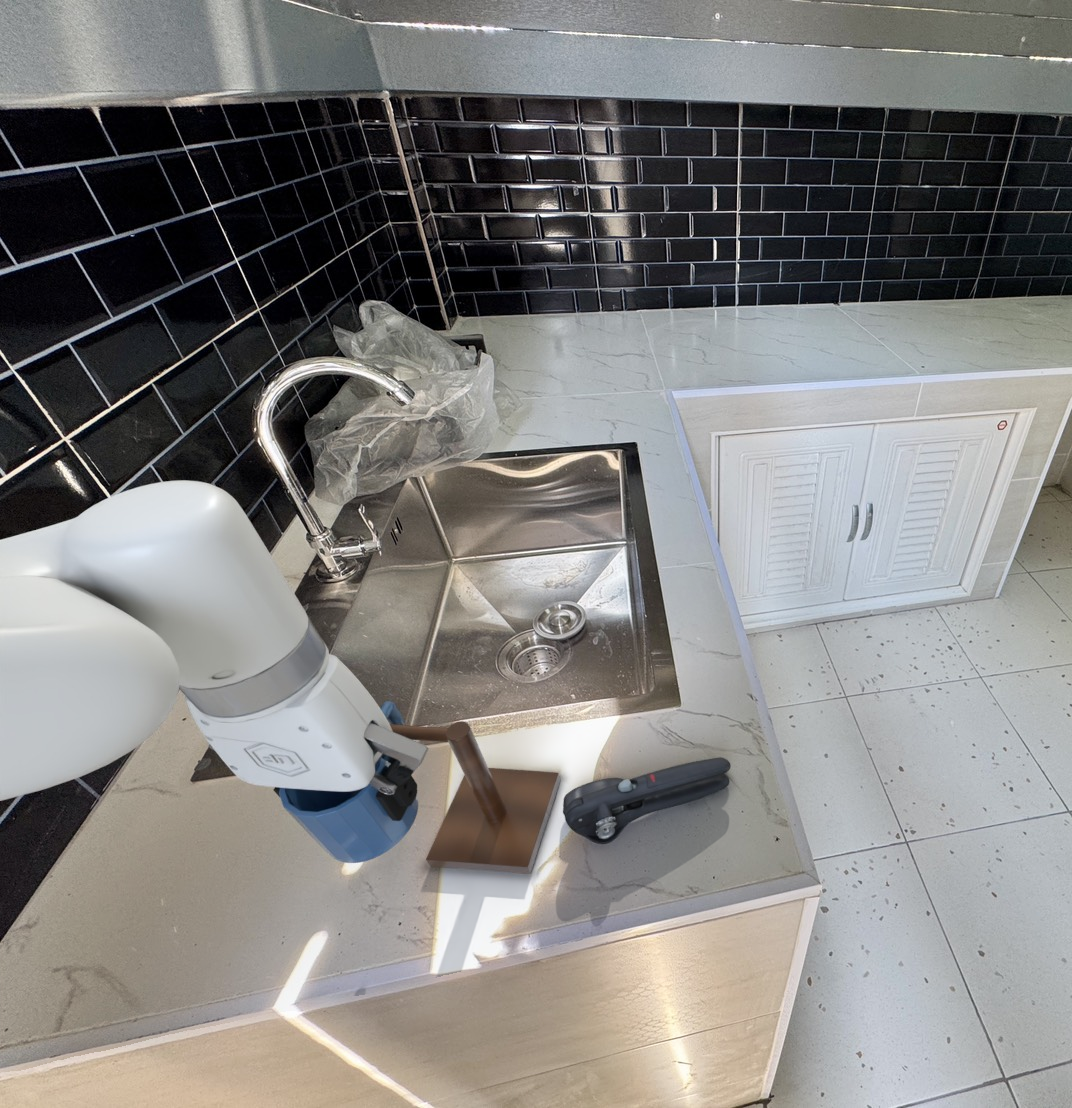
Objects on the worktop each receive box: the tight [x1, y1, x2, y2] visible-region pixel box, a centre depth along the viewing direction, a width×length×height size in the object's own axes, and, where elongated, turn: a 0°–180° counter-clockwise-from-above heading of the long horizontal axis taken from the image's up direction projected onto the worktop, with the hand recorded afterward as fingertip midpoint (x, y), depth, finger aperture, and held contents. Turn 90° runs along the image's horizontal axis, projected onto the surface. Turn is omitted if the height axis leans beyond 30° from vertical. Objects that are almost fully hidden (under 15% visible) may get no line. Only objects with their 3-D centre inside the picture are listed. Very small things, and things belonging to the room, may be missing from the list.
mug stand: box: [389, 720, 561, 875], centre depth 58 cm, size 10×17×16 cm, turn 86°
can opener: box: [562, 756, 732, 845], centre depth 62 cm, size 18×7×6 cm, turn 108°
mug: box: [279, 700, 419, 864], centre depth 52 cm, size 11×7×8 cm, turn 176°
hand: (357, 800), depth 50 cm, fingers closed on mug, 7 cm apart
